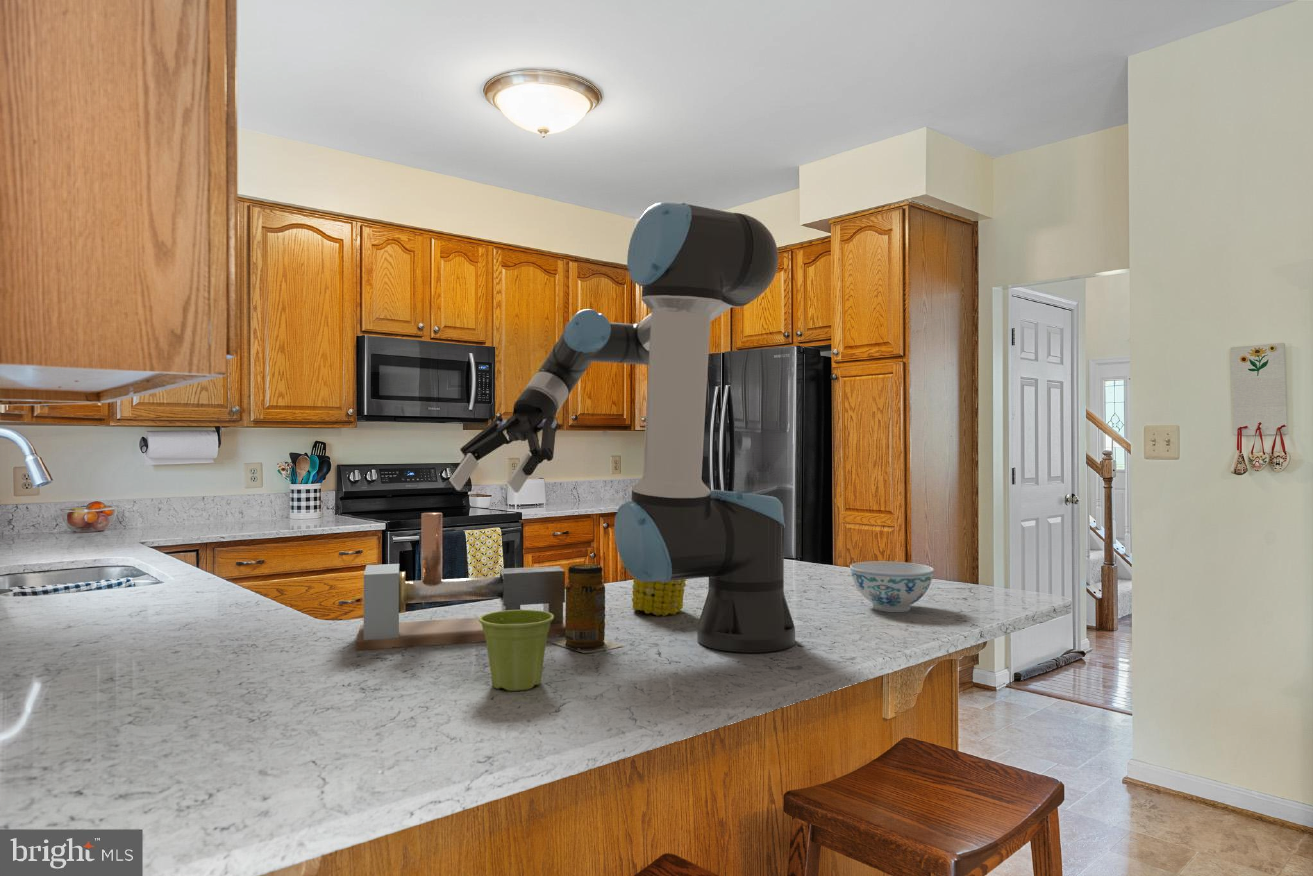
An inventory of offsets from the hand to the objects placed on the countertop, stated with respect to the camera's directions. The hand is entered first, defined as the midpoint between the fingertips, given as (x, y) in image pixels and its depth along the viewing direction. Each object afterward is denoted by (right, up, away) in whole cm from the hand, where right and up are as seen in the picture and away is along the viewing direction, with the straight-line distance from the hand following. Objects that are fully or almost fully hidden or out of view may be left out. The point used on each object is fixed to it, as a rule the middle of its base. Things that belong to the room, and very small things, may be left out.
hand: (482, 486), depth 138 cm
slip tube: (-4, -19, -9) cm, 22 cm away
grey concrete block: (+9, -22, -5) cm, 24 cm away
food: (+30, -24, +9) cm, 40 cm away
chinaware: (+74, -24, +12) cm, 78 cm away
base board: (-1, -23, -8) cm, 25 cm away
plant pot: (+12, -23, -35) cm, 44 cm away
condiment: (+19, -24, -15) cm, 34 cm away
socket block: (-13, -22, -12) cm, 28 cm away
